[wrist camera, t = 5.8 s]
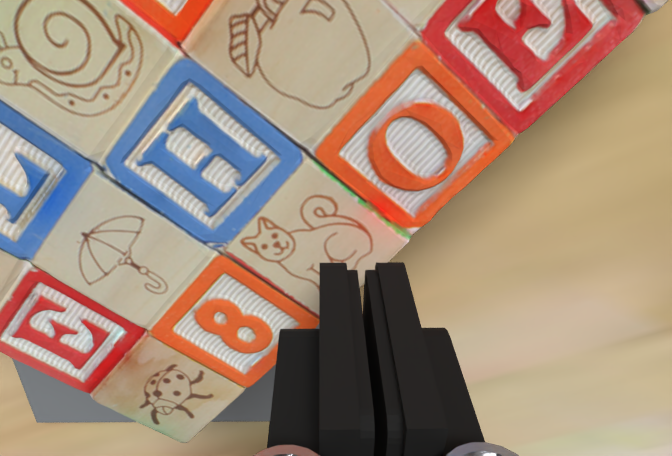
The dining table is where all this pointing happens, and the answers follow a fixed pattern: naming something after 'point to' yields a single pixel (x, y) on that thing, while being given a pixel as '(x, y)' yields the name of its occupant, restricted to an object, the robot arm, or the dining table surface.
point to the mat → (77, 406)
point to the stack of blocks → (243, 168)
